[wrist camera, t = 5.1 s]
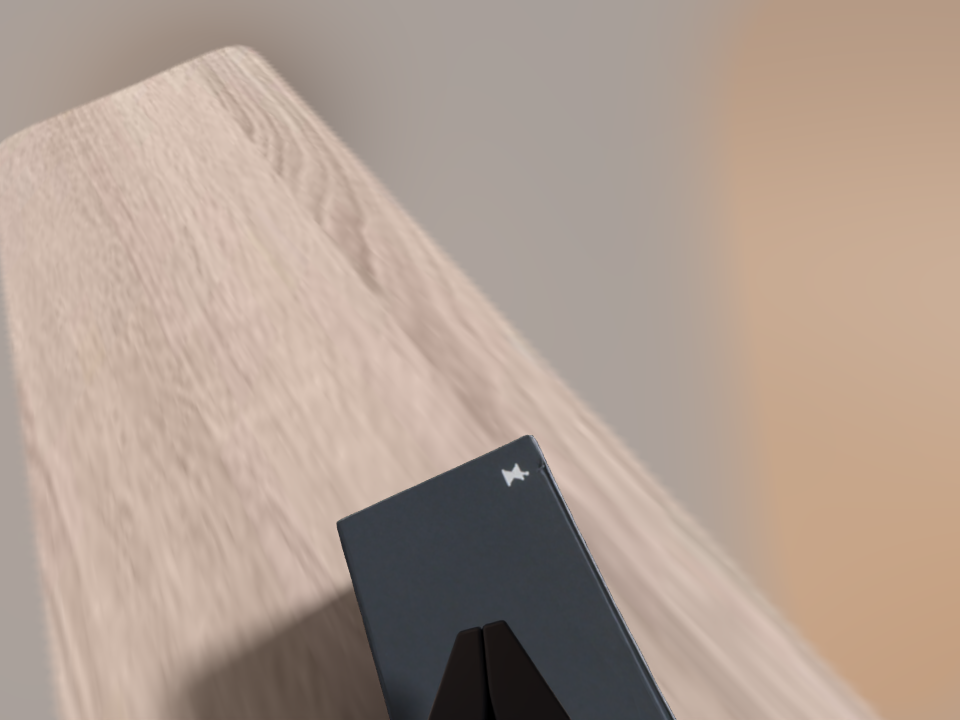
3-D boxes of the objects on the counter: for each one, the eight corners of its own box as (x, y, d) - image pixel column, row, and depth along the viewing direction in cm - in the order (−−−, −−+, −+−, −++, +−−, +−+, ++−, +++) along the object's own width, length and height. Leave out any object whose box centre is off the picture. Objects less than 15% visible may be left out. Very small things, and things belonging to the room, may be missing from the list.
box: (416, 550, 21) (328, 516, 12) (531, 497, 22) (537, 424, 12) (486, 758, 18) (441, 944, 8) (620, 689, 18) (722, 790, 9)
